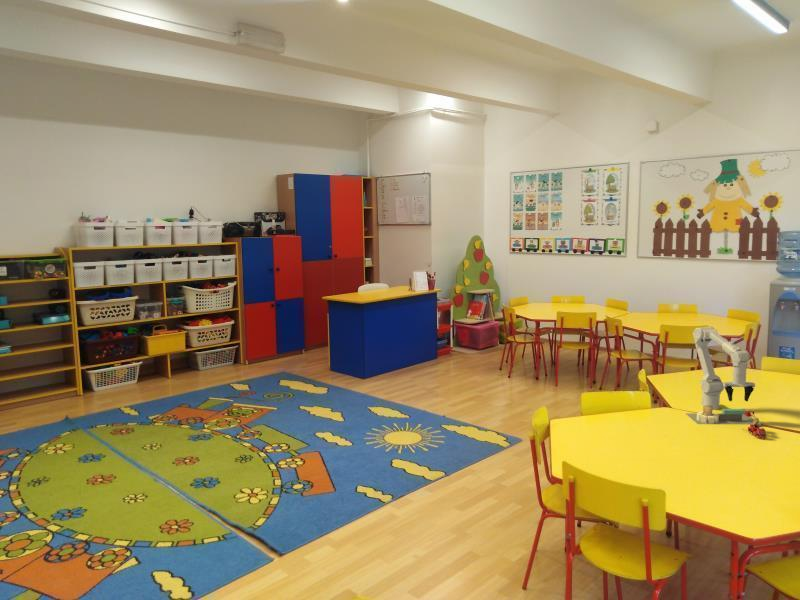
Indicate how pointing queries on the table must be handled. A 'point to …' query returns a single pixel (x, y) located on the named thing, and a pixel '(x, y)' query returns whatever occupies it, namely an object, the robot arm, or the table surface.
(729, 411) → the bar
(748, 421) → the board
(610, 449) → the table surface
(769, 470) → the table surface
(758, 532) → the table surface
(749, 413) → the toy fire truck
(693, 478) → the table surface
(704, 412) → the peg
